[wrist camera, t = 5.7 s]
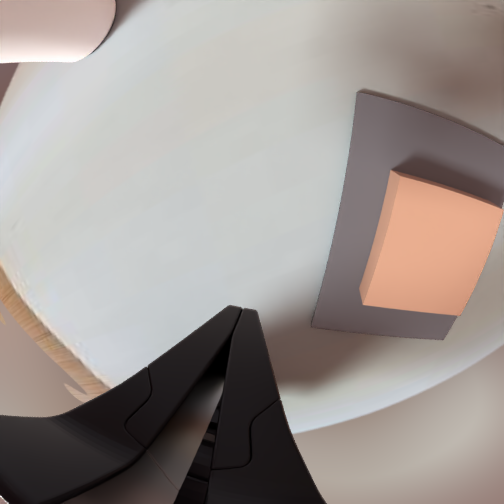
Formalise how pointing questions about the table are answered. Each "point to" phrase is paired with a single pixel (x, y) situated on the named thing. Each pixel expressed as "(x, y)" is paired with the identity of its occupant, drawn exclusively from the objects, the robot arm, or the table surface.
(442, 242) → the tile
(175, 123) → the table surface
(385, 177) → the mat
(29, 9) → the can
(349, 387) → the table surface
